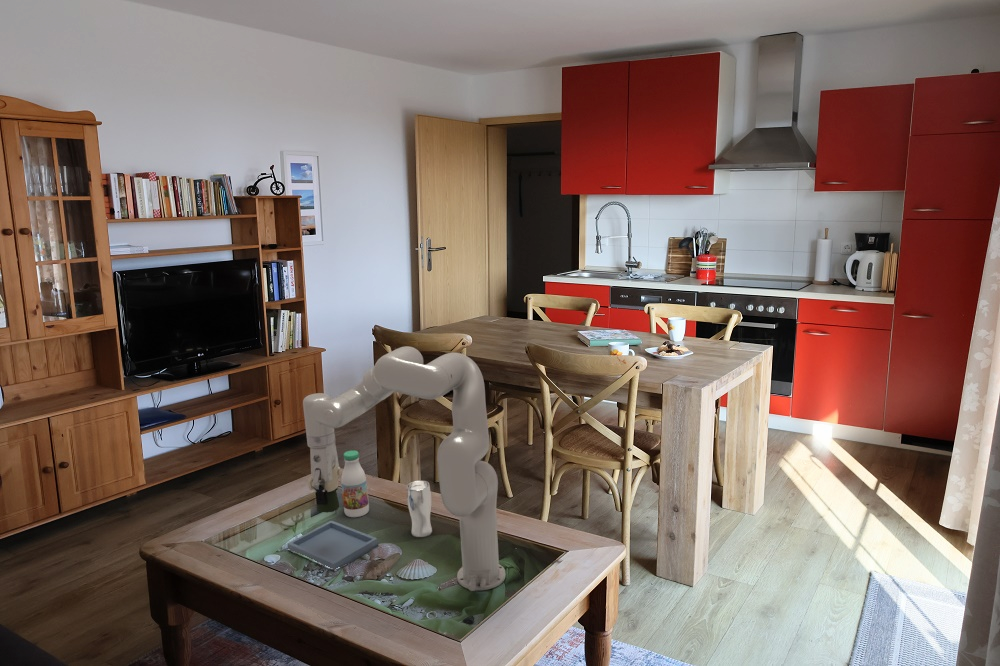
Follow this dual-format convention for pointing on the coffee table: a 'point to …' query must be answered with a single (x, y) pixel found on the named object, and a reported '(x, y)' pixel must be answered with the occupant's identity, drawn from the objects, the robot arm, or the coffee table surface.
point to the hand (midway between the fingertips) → (327, 496)
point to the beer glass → (419, 507)
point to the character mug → (329, 491)
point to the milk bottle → (354, 486)
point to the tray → (333, 544)
